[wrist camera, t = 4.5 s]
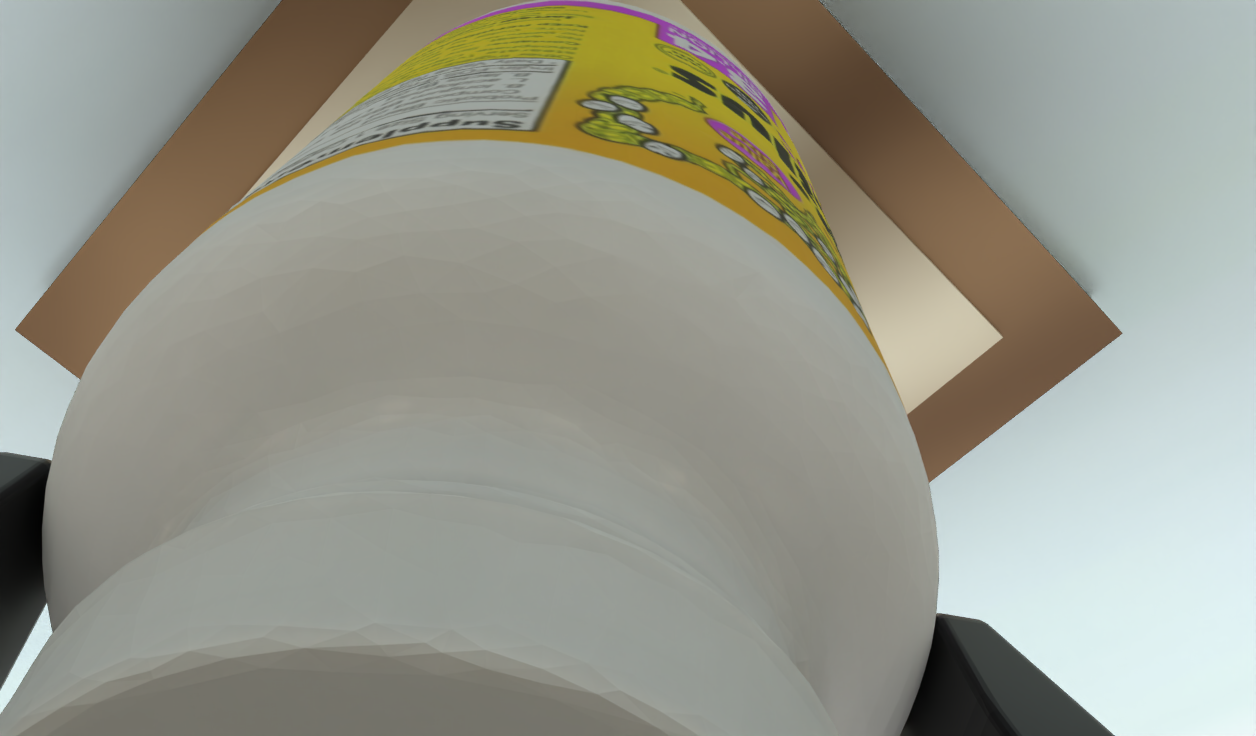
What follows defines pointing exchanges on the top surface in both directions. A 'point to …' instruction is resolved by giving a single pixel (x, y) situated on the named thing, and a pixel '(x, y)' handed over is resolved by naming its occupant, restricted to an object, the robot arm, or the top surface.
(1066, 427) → the top surface
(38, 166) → the top surface
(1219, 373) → the top surface
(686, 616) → the supplement bottle
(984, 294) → the brown square tray
